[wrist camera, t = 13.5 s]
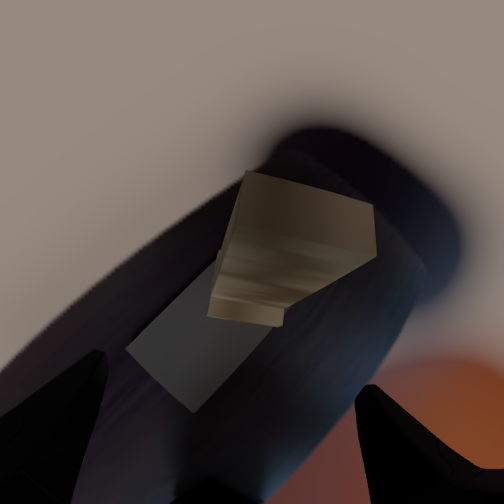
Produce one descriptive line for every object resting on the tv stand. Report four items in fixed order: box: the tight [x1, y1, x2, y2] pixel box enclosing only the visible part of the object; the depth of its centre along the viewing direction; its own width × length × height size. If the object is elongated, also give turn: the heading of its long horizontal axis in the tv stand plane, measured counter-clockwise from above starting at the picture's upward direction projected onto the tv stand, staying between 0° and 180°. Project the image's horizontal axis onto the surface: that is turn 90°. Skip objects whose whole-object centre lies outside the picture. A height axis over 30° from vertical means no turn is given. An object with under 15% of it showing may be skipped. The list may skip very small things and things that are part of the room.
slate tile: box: [125, 259, 292, 414], centre depth 22 cm, size 7×14×1 cm, turn 139°
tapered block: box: [207, 170, 377, 327], centre depth 16 cm, size 6×5×13 cm
